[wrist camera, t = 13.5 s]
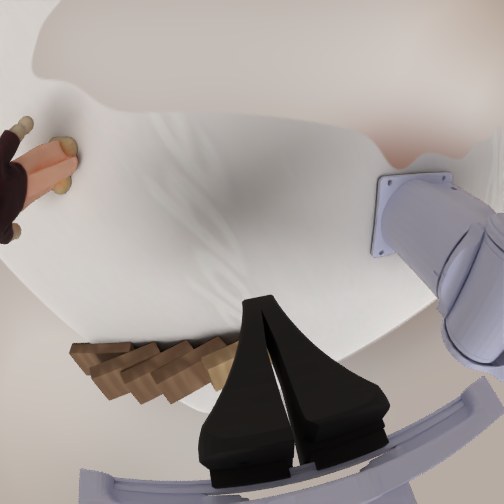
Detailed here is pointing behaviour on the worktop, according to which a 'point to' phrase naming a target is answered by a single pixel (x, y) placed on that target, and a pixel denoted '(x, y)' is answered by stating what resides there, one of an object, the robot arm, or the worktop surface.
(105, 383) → the domino
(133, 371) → the domino
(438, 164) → the worktop surface
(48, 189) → the grandmother figurine
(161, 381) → the domino
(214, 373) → the domino
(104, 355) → the domino
